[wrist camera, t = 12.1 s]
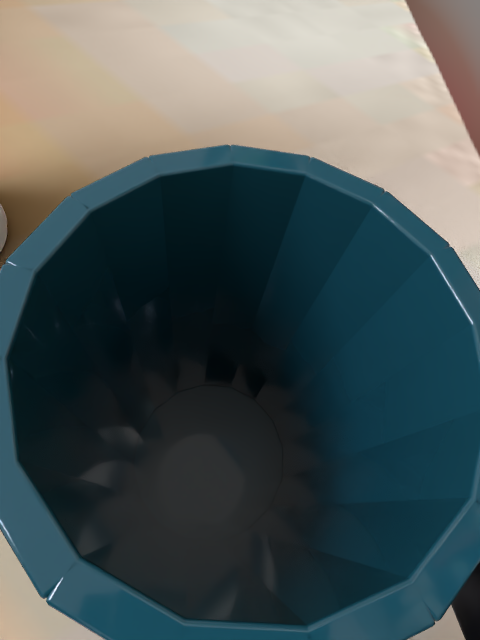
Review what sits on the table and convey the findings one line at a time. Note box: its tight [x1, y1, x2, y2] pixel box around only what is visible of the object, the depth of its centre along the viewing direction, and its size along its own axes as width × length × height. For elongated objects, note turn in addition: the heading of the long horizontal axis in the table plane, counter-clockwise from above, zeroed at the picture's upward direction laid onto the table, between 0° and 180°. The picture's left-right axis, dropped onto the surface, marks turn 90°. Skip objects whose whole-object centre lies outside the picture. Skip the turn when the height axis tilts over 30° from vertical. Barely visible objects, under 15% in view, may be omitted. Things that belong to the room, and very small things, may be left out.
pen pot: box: [0, 145, 480, 640], centre depth 11 cm, size 7×7×13 cm
